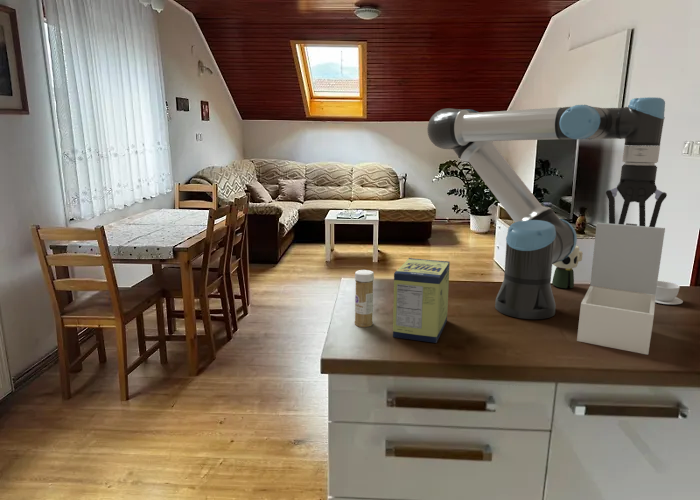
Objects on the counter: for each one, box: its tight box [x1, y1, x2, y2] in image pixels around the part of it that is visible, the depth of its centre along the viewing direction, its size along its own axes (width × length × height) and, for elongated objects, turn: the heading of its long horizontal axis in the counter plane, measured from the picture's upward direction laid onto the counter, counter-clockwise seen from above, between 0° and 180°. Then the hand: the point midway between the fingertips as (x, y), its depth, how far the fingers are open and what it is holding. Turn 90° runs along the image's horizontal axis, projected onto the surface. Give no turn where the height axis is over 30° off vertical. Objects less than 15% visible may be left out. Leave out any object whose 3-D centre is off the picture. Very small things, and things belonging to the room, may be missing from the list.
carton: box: [576, 286, 656, 355], centre depth 115 cm, size 14×16×9 cm
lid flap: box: [589, 222, 666, 295], centre depth 122 cm, size 16×14×9 cm
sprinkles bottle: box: [354, 269, 375, 328], centre depth 121 cm, size 5×5×13 cm
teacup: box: [651, 280, 684, 305], centre depth 142 cm, size 10×10×5 cm
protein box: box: [392, 257, 451, 344], centre depth 119 cm, size 10×16×16 cm
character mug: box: [551, 245, 584, 289], centre depth 153 cm, size 11×7×13 cm, turn 99°
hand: (627, 257), depth 127 cm, fingers closed on lid flap, 2 cm apart
